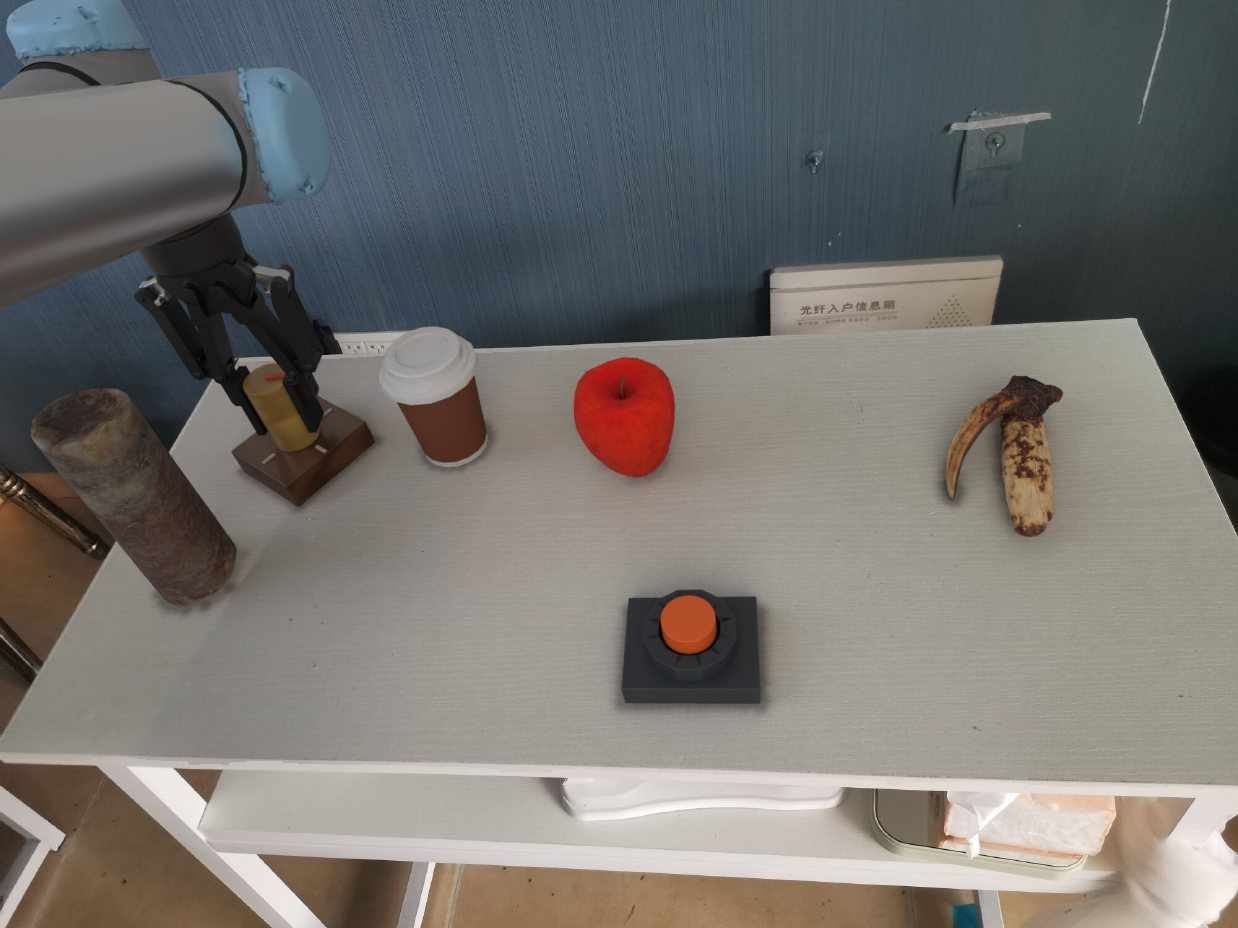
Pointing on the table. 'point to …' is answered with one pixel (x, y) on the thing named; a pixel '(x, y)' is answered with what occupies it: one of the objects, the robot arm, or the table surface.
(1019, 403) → the lashed bone hook
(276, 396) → the dimmer knob
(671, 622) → the light button
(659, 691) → the switch block
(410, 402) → the coffee cup
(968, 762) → the table surface
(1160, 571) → the table surface
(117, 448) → the weathered brown cylinder
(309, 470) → the panel
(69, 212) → the robot arm
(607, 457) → the apple
